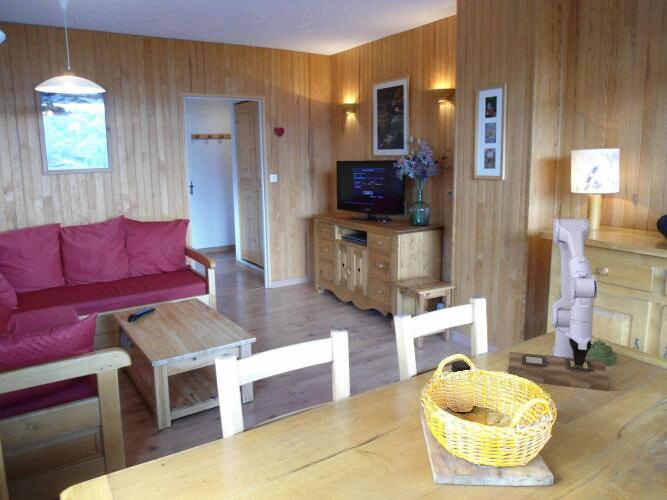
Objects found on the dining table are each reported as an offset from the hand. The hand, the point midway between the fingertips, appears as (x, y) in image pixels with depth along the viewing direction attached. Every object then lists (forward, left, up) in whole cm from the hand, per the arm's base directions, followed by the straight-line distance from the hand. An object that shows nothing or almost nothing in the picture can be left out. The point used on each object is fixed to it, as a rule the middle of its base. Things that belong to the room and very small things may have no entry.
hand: (578, 364), depth 150 cm
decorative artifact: (-17, +7, -5) cm, 19 cm away
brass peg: (0, 0, -4) cm, 4 cm away
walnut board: (0, -6, -4) cm, 7 cm away
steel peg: (0, -12, -4) cm, 13 cm away
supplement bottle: (+27, -30, -5) cm, 41 cm away
